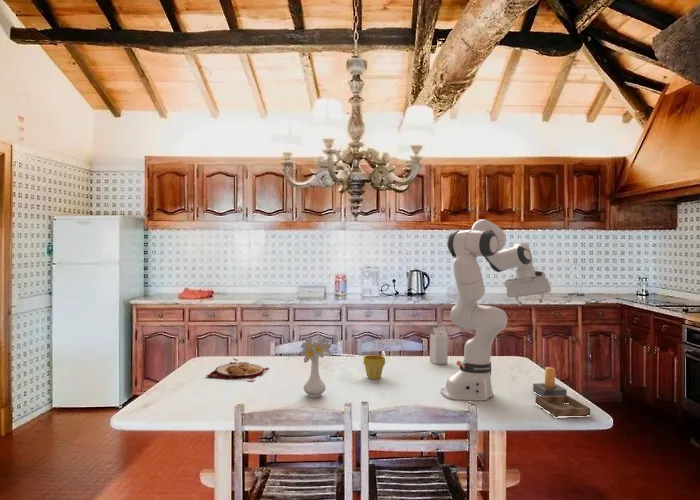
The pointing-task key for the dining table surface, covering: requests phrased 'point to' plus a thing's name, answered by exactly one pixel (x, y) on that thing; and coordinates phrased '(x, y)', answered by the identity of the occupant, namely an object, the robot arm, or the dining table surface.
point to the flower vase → (314, 365)
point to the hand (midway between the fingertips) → (530, 304)
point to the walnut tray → (562, 406)
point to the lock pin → (549, 377)
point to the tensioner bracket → (549, 390)
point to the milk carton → (439, 346)
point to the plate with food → (238, 371)
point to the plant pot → (374, 366)
